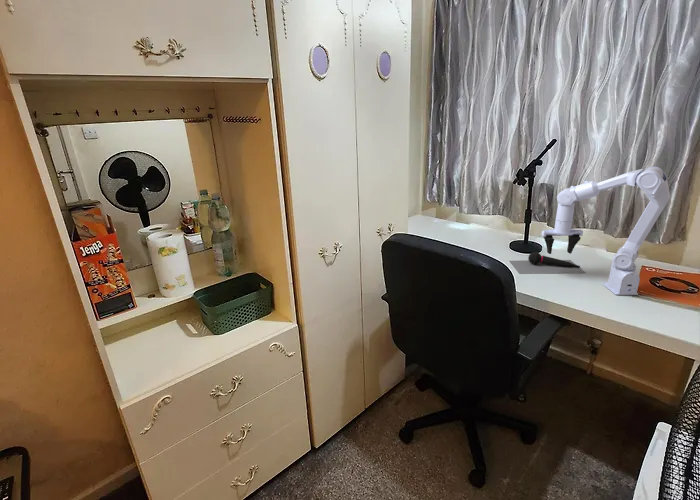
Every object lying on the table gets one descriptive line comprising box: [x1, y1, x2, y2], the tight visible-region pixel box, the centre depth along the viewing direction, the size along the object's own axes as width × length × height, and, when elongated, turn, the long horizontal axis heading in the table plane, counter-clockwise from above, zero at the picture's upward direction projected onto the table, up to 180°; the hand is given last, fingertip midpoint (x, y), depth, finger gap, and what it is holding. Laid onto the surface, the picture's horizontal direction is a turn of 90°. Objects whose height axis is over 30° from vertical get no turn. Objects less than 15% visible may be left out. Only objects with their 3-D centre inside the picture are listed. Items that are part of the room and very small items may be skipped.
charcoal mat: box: [509, 259, 586, 275], centre depth 163 cm, size 14×26×1 cm, turn 85°
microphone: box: [527, 251, 581, 268], centre depth 162 cm, size 6×6×20 cm
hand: (559, 252), depth 152 cm, fingers open, 7 cm apart
